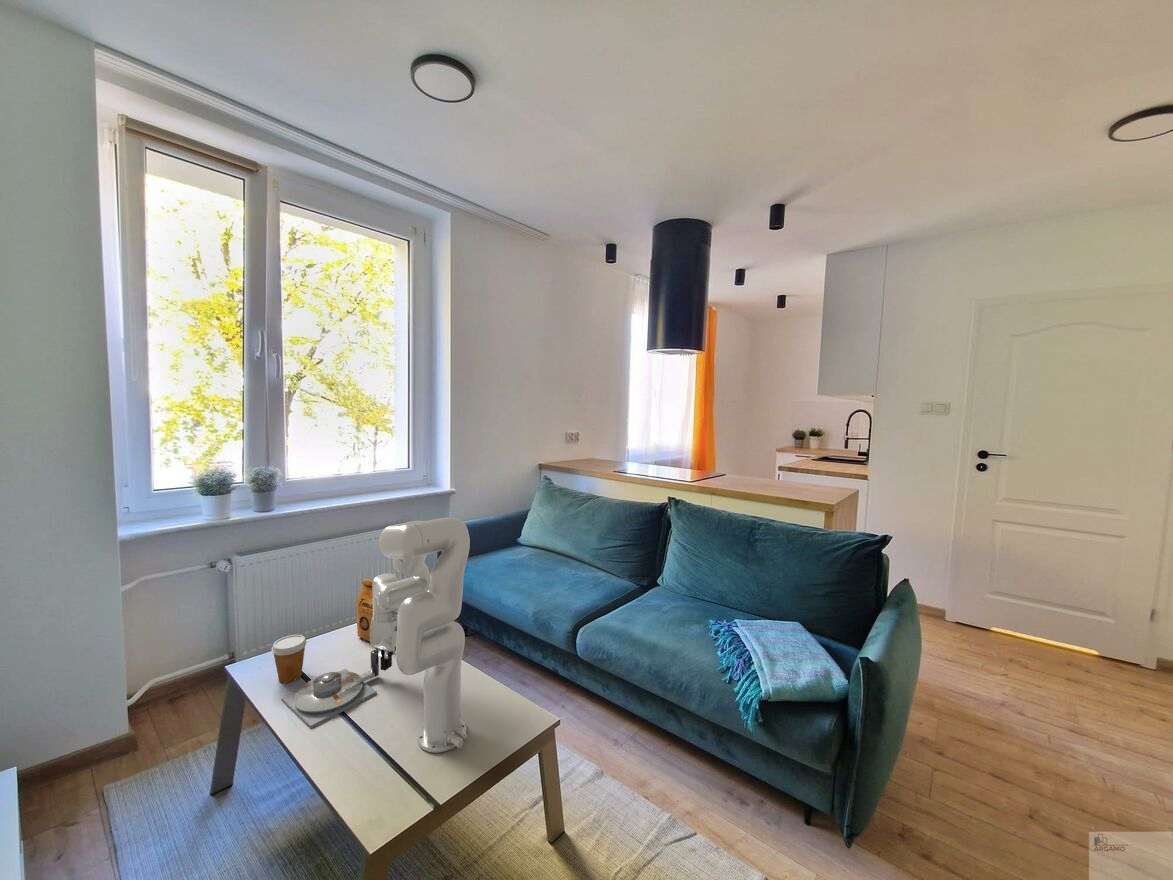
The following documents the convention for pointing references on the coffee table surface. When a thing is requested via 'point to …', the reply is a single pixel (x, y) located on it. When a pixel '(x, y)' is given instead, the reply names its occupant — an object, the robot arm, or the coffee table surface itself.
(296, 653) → the disposable coffee cup
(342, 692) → the turntable
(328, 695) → the cover
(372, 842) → the coffee table surface
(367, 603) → the coffee package
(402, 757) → the coffee table surface
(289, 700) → the plinth
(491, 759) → the coffee table surface
